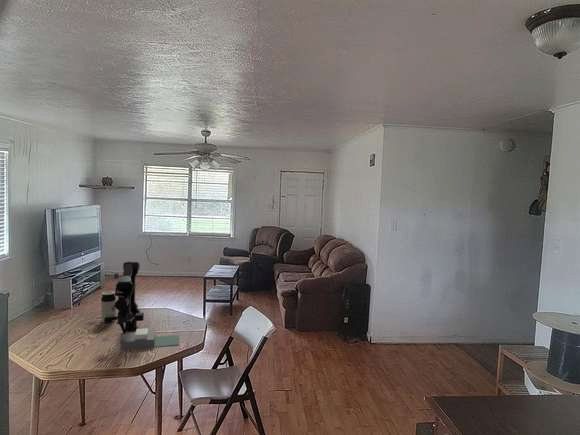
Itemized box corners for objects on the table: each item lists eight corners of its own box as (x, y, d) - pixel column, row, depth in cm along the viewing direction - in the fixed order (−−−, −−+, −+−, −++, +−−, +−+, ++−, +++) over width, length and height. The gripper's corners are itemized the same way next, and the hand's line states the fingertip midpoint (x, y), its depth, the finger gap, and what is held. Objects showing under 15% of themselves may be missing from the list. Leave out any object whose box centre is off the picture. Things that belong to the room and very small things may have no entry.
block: (136, 333, 205) (136, 329, 205) (148, 332, 207) (148, 328, 207) (134, 339, 197) (134, 335, 196) (147, 338, 198) (147, 334, 198)
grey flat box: (124, 340, 205) (124, 333, 205) (155, 337, 210) (155, 330, 210) (120, 349, 193) (120, 342, 193) (154, 346, 198) (154, 339, 197)
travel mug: (98, 321, 233) (98, 293, 232) (110, 318, 240) (109, 290, 239) (107, 324, 230) (107, 294, 229) (118, 320, 237) (118, 292, 236)
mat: (156, 337, 211) (156, 336, 211) (178, 335, 214) (178, 334, 214) (155, 347, 197) (155, 346, 197) (179, 345, 201) (179, 344, 201)
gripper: (102, 310, 188) (102, 341, 189) (142, 308, 193) (142, 337, 194) (106, 304, 199) (106, 333, 199) (144, 301, 204) (144, 330, 205)
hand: (124, 333), depth 199 cm, fingers closed
